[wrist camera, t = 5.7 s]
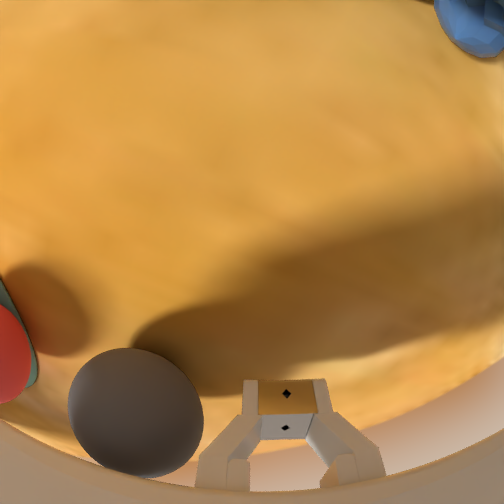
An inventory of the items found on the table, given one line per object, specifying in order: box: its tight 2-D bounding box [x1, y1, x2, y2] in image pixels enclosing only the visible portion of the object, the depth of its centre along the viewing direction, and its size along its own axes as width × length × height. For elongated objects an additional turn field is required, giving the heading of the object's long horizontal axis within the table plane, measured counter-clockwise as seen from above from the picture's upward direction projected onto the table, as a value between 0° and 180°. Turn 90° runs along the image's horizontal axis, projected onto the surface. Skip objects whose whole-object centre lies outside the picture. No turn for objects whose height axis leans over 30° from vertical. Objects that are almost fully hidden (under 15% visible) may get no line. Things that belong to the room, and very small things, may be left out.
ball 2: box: [68, 348, 204, 478], centre depth 9 cm, size 6×6×6 cm
